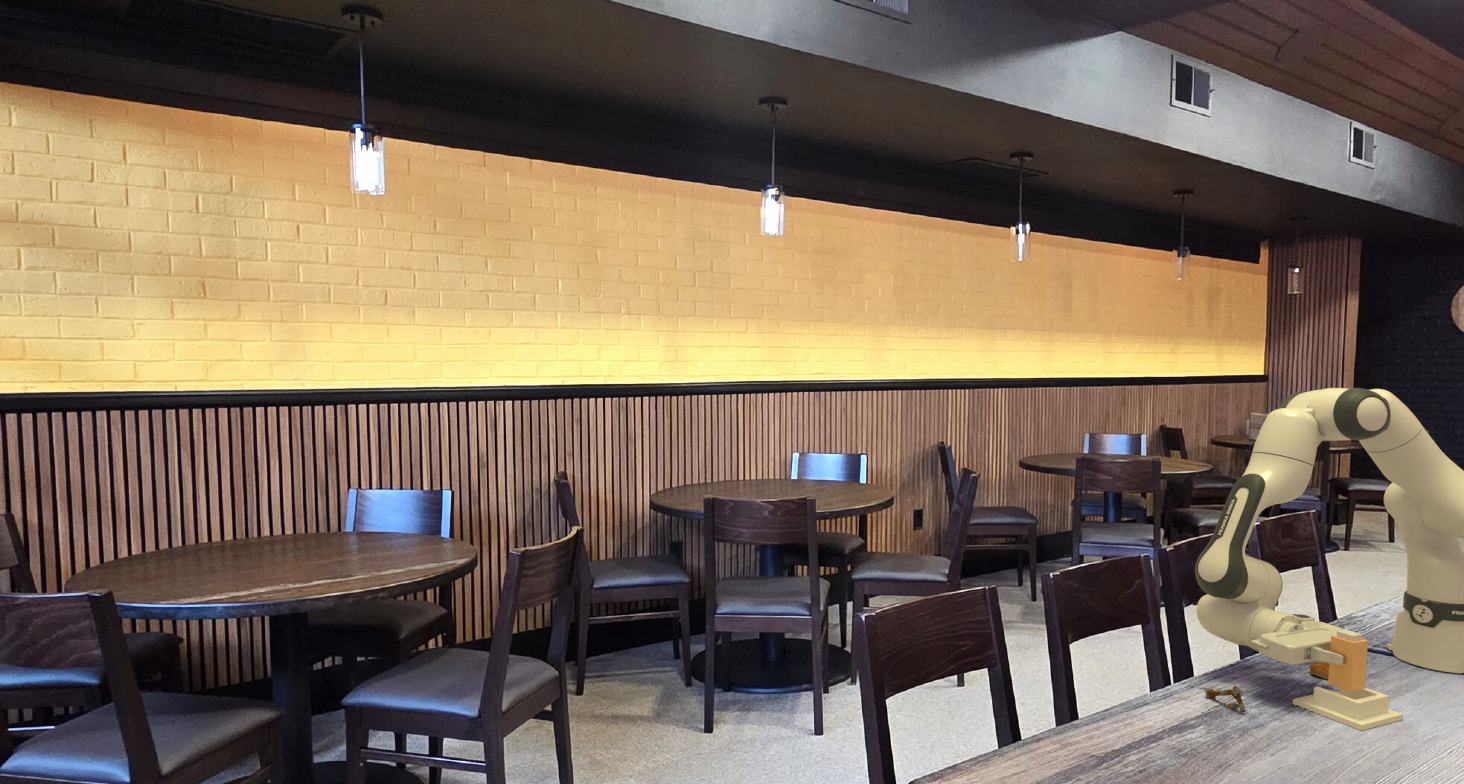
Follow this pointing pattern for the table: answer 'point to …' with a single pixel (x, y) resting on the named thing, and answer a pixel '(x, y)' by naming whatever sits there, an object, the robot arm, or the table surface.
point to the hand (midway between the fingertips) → (1353, 658)
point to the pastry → (1320, 669)
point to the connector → (1349, 661)
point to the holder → (1351, 707)
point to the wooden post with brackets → (1212, 694)
